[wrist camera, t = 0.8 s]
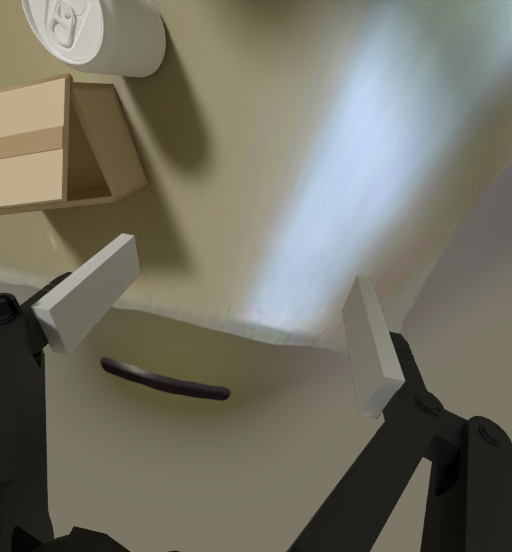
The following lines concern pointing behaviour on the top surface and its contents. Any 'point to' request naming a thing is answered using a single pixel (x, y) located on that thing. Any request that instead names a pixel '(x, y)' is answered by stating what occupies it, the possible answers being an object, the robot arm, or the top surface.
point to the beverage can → (100, 34)
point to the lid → (34, 142)
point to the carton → (96, 151)
